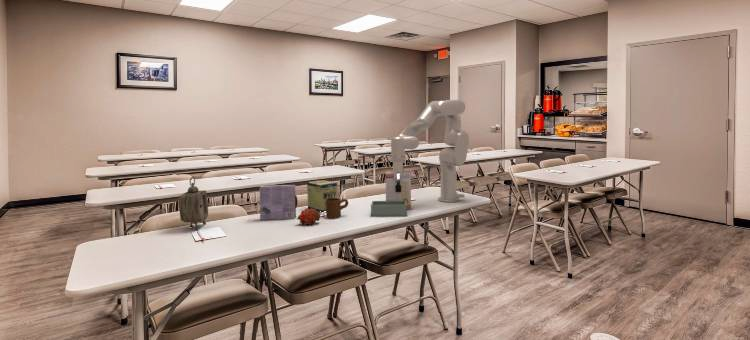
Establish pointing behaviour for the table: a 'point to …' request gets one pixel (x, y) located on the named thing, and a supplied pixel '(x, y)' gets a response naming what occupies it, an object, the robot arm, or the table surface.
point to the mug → (335, 207)
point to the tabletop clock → (193, 205)
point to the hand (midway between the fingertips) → (398, 190)
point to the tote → (389, 208)
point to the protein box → (320, 194)
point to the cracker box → (405, 188)
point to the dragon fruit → (309, 216)
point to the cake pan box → (278, 202)
